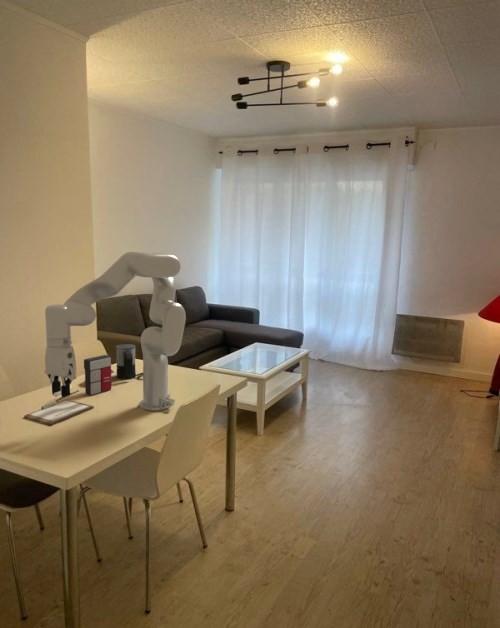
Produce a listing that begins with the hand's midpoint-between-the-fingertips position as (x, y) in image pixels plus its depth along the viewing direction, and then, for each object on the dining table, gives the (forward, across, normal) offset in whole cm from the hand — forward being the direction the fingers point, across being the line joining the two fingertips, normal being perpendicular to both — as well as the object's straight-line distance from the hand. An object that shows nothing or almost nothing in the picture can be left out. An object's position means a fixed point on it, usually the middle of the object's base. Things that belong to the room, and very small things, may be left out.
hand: (61, 394), depth 162 cm
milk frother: (+14, +20, -61) cm, 66 cm away
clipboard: (+13, +13, -11) cm, 21 cm away
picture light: (+1, 0, 0) cm, 1 cm away
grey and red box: (+13, +18, -36) cm, 42 cm away
